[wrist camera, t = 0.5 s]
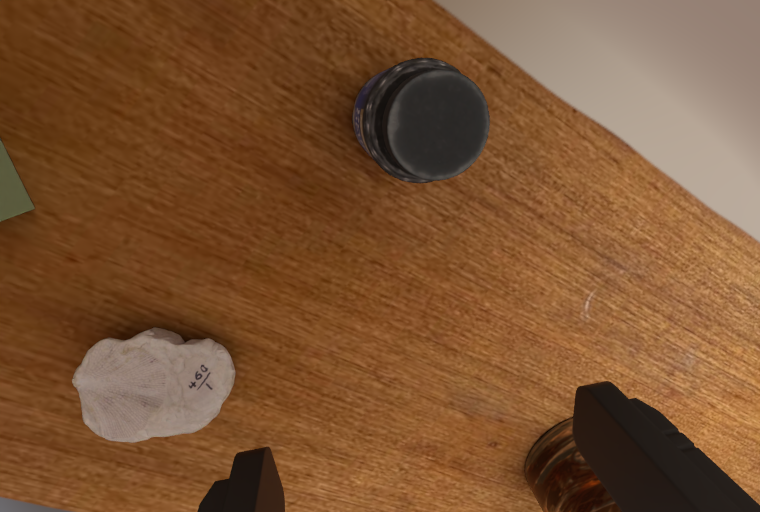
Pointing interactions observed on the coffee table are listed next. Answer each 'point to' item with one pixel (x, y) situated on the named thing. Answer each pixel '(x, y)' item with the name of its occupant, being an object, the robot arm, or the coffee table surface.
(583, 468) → the jar
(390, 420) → the coffee table surface
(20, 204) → the green block
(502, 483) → the coffee table surface
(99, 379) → the fossil
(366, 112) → the pill bottle
